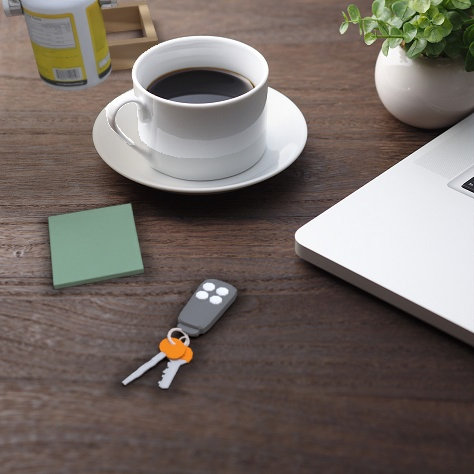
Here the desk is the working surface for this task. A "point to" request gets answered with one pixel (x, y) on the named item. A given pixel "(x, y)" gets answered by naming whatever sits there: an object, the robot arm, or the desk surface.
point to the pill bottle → (68, 42)
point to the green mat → (94, 246)
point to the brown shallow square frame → (124, 20)
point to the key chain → (191, 327)
